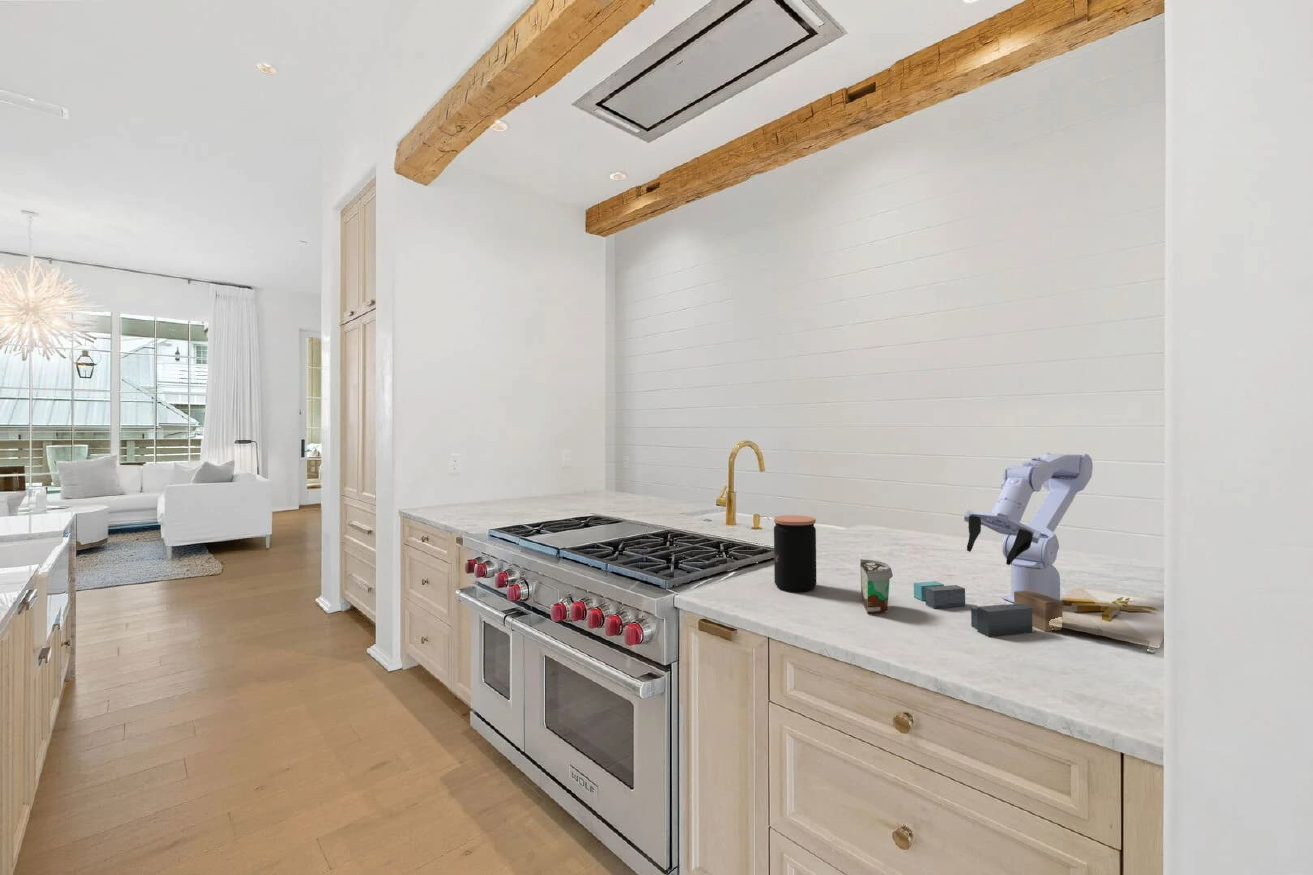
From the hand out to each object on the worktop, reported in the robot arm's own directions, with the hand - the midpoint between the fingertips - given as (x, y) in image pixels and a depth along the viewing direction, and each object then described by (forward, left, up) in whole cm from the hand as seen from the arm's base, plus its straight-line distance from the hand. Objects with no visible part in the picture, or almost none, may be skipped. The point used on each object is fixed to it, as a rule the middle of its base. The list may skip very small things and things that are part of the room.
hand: (988, 555), depth 125 cm
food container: (+18, -13, -14) cm, 26 cm away
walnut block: (-8, +4, -14) cm, 17 cm away
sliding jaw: (+2, -14, -14) cm, 20 cm away
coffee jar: (+29, -34, -14) cm, 47 cm away
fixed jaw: (+2, +5, -14) cm, 15 cm away
